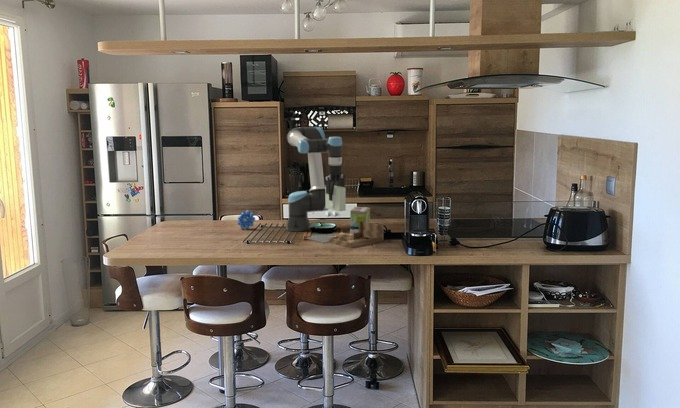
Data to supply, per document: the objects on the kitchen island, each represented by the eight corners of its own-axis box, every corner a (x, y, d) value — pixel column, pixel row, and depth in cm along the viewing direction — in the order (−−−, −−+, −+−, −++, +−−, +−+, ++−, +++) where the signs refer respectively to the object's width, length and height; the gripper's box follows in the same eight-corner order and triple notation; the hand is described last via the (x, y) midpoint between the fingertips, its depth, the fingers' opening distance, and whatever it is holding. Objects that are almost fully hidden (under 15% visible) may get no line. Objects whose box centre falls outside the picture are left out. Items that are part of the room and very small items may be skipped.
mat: (306, 238, 324) (306, 238, 324) (322, 235, 332) (322, 234, 332) (323, 243, 312) (323, 242, 312) (339, 240, 320) (339, 239, 320)
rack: (329, 242, 315) (328, 226, 313) (361, 235, 331) (361, 220, 329) (350, 248, 301) (350, 231, 300) (383, 240, 317) (383, 225, 316)
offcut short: (338, 239, 311) (338, 233, 311) (340, 237, 314) (340, 232, 313) (351, 240, 308) (351, 235, 307) (353, 239, 310) (353, 234, 310)
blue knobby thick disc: (257, 228, 355) (257, 209, 353) (254, 230, 348) (253, 211, 346) (240, 227, 357) (239, 208, 355) (236, 229, 351) (235, 210, 349)
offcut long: (337, 243, 314) (337, 238, 313) (341, 242, 316) (340, 237, 316) (353, 246, 306) (353, 241, 305) (357, 245, 308) (357, 240, 308)
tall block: (325, 208, 321) (325, 185, 319) (331, 207, 324) (331, 185, 322) (339, 211, 313) (339, 188, 310) (345, 210, 316) (345, 187, 313)
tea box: (366, 235, 331) (366, 211, 329) (349, 235, 333) (349, 210, 331) (370, 230, 346) (370, 206, 343) (354, 229, 348) (354, 206, 345)
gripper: (327, 166, 305) (328, 208, 309) (351, 163, 317) (351, 204, 321) (318, 165, 310) (319, 206, 315) (342, 162, 322) (342, 202, 327)
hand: (335, 205), depth 318 cm, fingers closed on tall block, 4 cm apart
